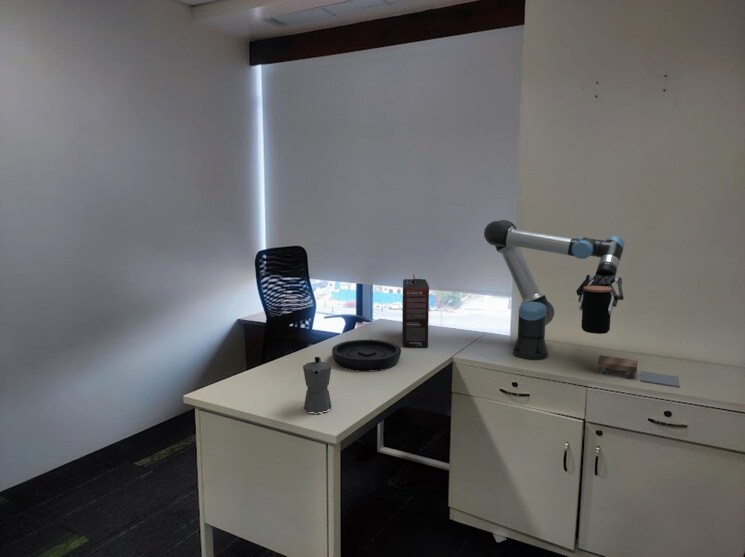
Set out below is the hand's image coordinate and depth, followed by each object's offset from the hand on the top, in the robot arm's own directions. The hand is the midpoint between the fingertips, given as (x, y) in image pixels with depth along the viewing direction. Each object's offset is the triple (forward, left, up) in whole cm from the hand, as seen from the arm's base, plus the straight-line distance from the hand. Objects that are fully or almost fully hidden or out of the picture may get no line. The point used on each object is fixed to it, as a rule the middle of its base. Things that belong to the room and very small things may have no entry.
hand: (594, 310), depth 199 cm
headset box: (-81, +4, -26) cm, 85 cm away
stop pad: (+25, +3, -26) cm, 36 cm away
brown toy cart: (+10, +3, -26) cm, 28 cm away
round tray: (-86, -35, -26) cm, 97 cm away
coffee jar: (+1, +3, -9) cm, 10 cm away
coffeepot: (-75, -86, -26) cm, 117 cm away
